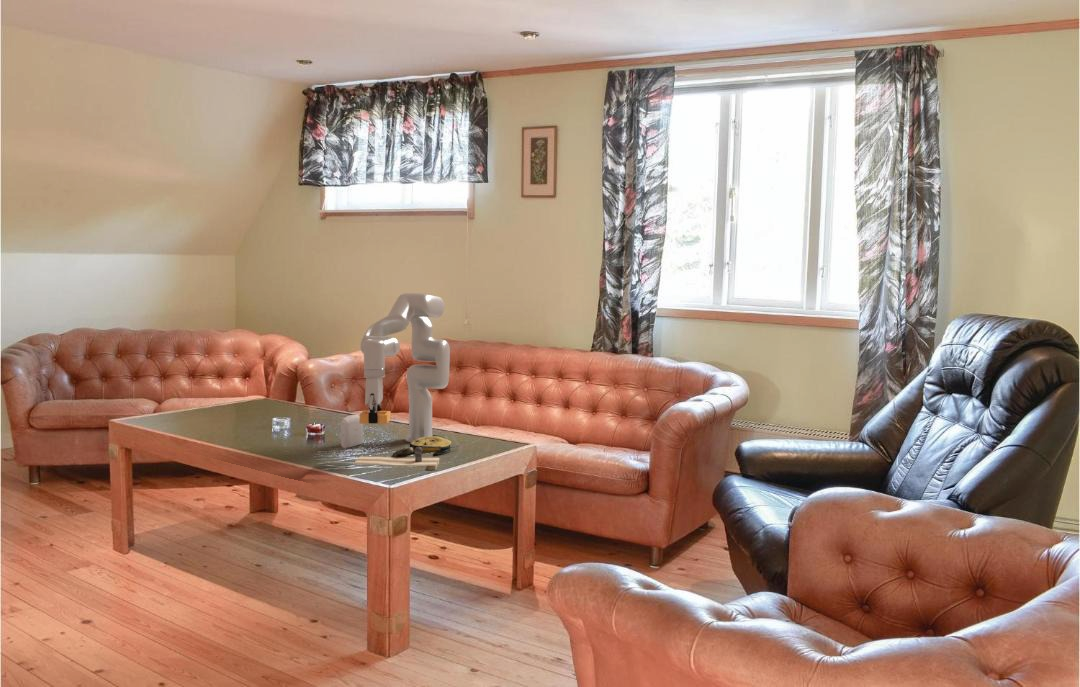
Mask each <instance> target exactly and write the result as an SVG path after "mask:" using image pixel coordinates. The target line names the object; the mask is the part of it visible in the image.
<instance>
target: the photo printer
mask: <svg viewBox="0 0 1080 687" xmlns="http://www.w3.org/2000/svg"><path fill="white" fill-rule="evenodd" d="M359 415H360V414H350V415H347V416H345V417H344V418H343V419H342V420H341V421H340V445H341V447H342V448H344V449H345V448H346V449H347V448H351V447H355V446H359V445H362V444H363V443H364V424H360V417H359Z"/></svg>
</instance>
